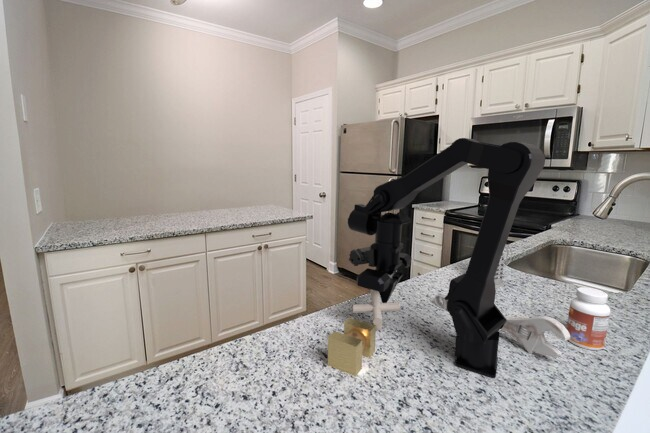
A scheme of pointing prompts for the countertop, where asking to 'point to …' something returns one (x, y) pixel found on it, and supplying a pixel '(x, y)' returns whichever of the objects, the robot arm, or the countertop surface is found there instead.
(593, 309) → the pill bottle
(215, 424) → the countertop surface
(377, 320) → the pipe connector
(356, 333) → the square-ended brass dumbbell
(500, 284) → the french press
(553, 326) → the wrench
